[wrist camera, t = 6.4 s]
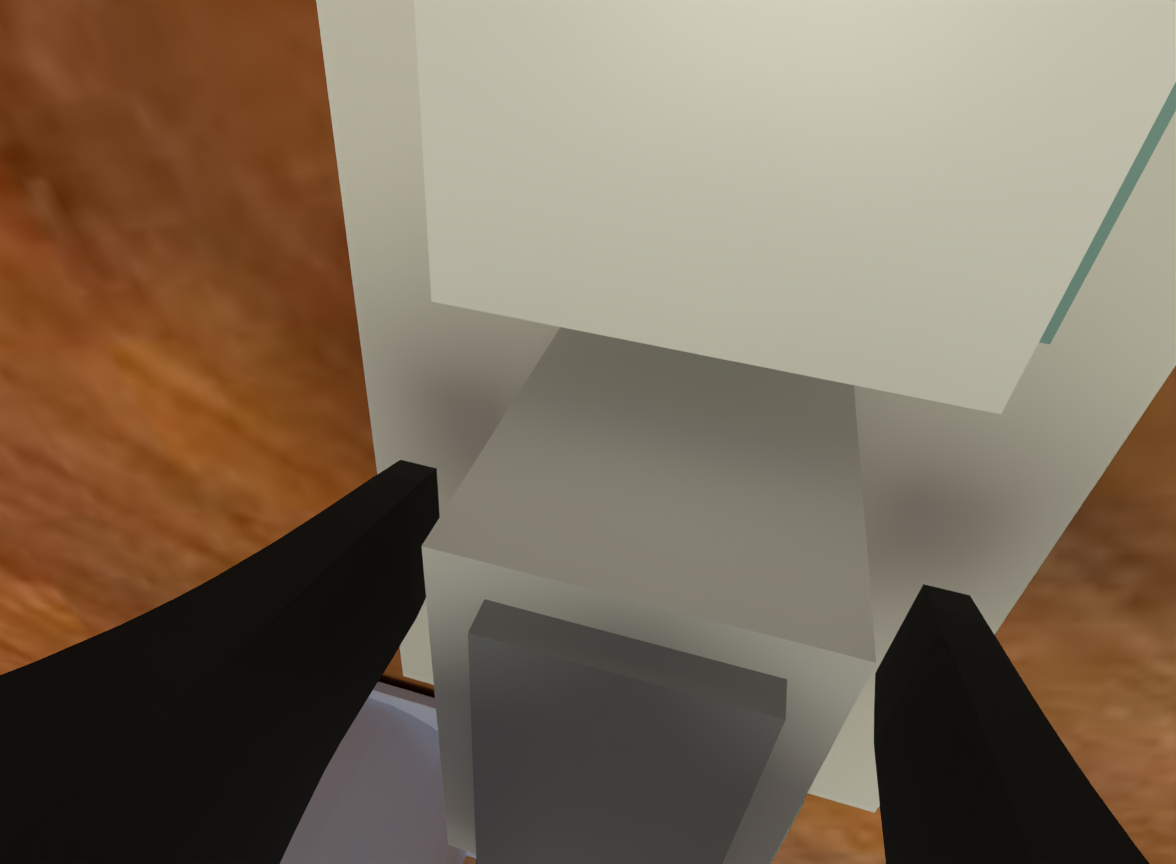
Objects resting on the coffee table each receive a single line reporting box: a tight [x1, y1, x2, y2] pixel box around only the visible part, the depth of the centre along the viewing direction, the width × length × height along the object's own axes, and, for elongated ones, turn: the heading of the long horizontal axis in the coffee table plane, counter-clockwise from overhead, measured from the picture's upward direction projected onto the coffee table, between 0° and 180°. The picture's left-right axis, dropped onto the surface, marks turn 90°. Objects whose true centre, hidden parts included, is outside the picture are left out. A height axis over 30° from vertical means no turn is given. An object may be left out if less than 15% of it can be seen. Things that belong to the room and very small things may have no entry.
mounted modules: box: [414, 0, 1176, 864], centre depth 11 cm, size 18×6×4 cm, turn 175°
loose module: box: [421, 327, 876, 864], centre depth 10 cm, size 6×4×6 cm, turn 175°
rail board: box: [316, 0, 1176, 813], centre depth 13 cm, size 20×13×2 cm, turn 175°
